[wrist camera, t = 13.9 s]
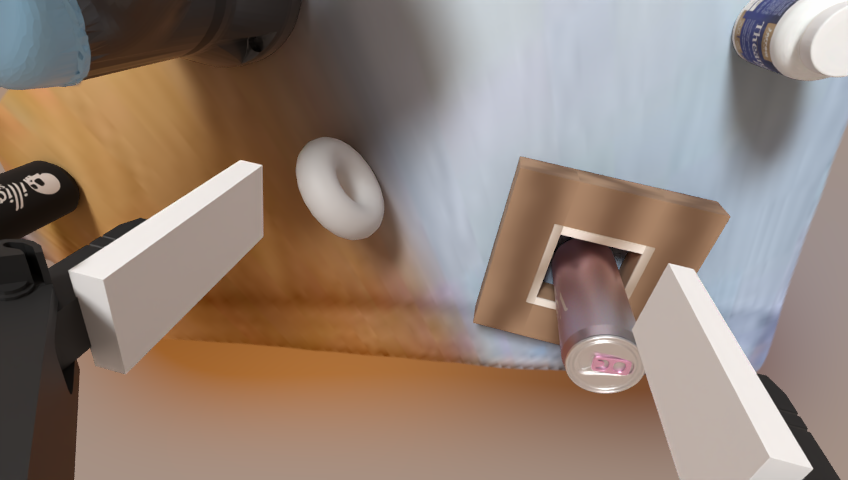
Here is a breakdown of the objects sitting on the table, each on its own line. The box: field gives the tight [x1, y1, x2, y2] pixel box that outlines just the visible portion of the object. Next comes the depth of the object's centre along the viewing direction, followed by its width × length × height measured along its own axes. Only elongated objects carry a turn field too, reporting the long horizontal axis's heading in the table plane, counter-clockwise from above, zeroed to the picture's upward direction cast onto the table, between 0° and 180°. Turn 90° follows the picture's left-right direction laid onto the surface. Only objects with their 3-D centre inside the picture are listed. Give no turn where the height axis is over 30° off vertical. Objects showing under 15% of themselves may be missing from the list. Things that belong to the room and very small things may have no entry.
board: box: [473, 156, 730, 345], centre depth 45 cm, size 18×18×3 cm
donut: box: [296, 137, 384, 240], centre depth 42 cm, size 10×4×10 cm, turn 34°
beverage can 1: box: [0, 161, 79, 240], centre depth 49 cm, size 7×7×12 cm
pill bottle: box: [732, 0, 848, 81], centre depth 30 cm, size 5×5×10 cm
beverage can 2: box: [552, 238, 645, 393], centre depth 40 cm, size 6×6×15 cm
